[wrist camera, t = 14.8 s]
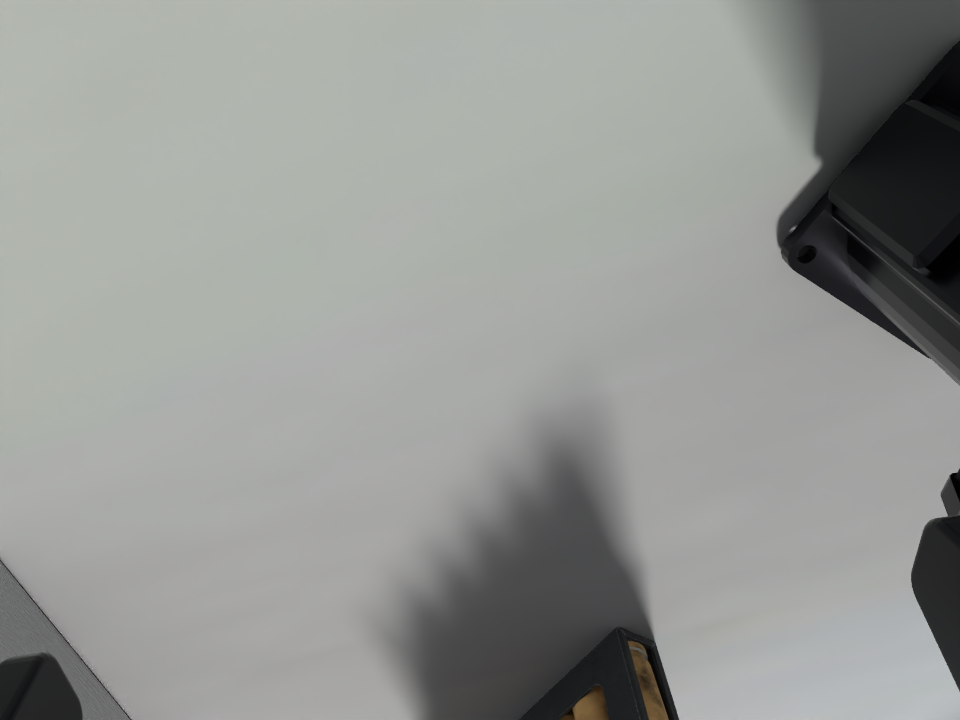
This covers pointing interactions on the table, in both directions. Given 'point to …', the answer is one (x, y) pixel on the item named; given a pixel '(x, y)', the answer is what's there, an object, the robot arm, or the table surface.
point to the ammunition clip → (611, 685)
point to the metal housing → (48, 648)
